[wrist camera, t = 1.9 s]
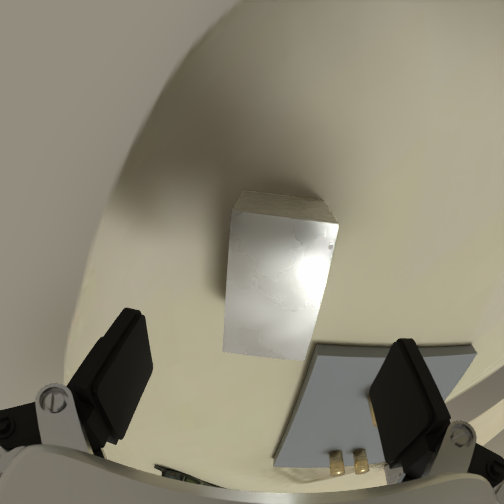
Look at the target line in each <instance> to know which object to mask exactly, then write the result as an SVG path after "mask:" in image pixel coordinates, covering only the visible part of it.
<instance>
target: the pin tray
mask: <svg viewBox="0 0 504 504" xmlns="http://www.w3.org/2000/svg"><path fill="white" fill-rule="evenodd" d="M418 349H419V351H420V353H421V355H422V357H423V358H424V360H425V362H426V364H427V366H428V368H429V370H430V372H431V375H432V377H433V379H434V381H435V383H436V385H437V387H438V389H439V391H440V394H441V396H442V398H443V400H444V401H445V399H446V398H447V397H448V395H449V394H450V393H451V391H452V390H453V389H454V387H455V386H456V385H457V383H458V382H459V380H460V379H461V378H462V376H463V375H464V373H465V372H466V370H467V369H468V367H469V366H470V364H471V363H472V361H473V359H474V358H475V356H476V355H477V352H476V351H475V349H474V348H473V346H472V345H469V346H452V347H419V348H418ZM389 350H390V348H388V347H353V346H334V345H319V344H316V347H315V350H314V353H313V356H312V359H311V362H310V365H309V368H308V371H307V374H306V377H305V380H304V383H303V386H302V389H301V391H300V394H299V397H298V400H297V402H296V405H295V408H294V410H293V413H292V416H291V418H290V421H289V423H288V426H287V428H286V431H285V433H284V436H283V438H282V441H281V443H280V445H279V448H278V450H277V453H276V455H275V457H274V464H273V467H296V468H318V467H330V476H341V475H343V474H344V473H345V470H344V466H354V467H355V474H364V473H367V472H368V471H369V466H368V464H374V463H382V462H386V461H385V459H384V454H383V449H382V445H381V440H380V436H379V432H378V428H377V423H376V419H375V415H374V411H373V407H372V404H371V400H370V396H369V390H370V387H371V385H372V383H373V381H374V379H375V378H376V376H377V374H378V372H379V370H380V368H381V366H382V364H383V362H384V360H385V359H386V357H387V355H388V353H389Z"/></svg>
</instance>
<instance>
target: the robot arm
mask: <svg viewBox="0 0 504 504" xmlns="http://www.w3.org/2000/svg"><path fill="white" fill-rule="evenodd" d="M152 370H153V362H152V357H151V351H150V346H149V339H148V333H147V326H146V319H145V316H144V315H141V312H140V311H139V310H135V309H130V308H124V309H123V310H122V312H121V313H120V315H119V316H118V317H117V319H116V320H115V321H114V323H113V324H112V325H111V327H110V328H109V330H108V331H107V332H106V334H105V335H104V337H101V338H100V339H99V340H98V341H97V342H96V344H95V345H94V347H93V348H92V350H91V351H90V352H89V354H88V355H87V357H86V358H85V360H84V361H83V362H82V364H81V365H80V367H79V368H78V370H77V371H76V373H75V374H74V376H73V377H72V379H71V380H70V382H69V383H68V385H67V386H64V385H62V384H58V383H54V384H49V385H46V386H44V387H43V388H41V389H40V391H39V392H38V393H37V396H36V399H35V402H33V403H29V404H25V405H21V406H17V407H13V408H9V409H4V410H0V504H504V459H503V458H502V457H501V456H499V455H498V454H496V453H494V452H492V451H490V450H488V449H486V448H484V447H483V446H481V445H479V444H477V443H476V432H475V431H474V429H473V427H472V426H471V425H470V424H468V423H467V422H465V421H462V420H460V421H458V420H457V421H454V422H452V423H450V419H451V417H450V414H449V412H448V410H447V407H446V405H445V403H444V400H443V398H442V396H441V394H440V391H439V389H438V387H437V385H436V383H435V381H434V379H433V377H432V375H431V372H430V370H429V368H428V366H427V364H426V362H425V360H424V358H423V357H422V355H421V353H420V351H419V349H418V347H417V345H416V343H415V341H414V340H413V339H406V338H400V339H398V340H397V341H396V342H394V343H393V344H392V346H391V348H390V350H389V353H388V355H387V357H386V359H385V360H384V362H383V364H382V366H381V368H380V370H379V372H378V374H377V376H376V378H375V379H374V381H373V383H372V385H371V387H370V390H369V396H370V400H371V404H372V407H373V411H374V415H375V419H376V423H377V428H378V432H379V436H380V440H381V445H382V449H383V454H384V459H385V461H386V463H389V468H390V469H394V468H399V467H402V469H403V473H402V475H401V476H400V478H399V480H398V482H397V483H396V484H390V485H385V486H379V487H373V488H366V489H358V490H349V491H339V492H324V493H266V492H252V491H241V490H232V489H224V488H217V487H211V486H205V485H199V484H194V483H189V482H184V481H179V480H175V479H171V478H167V477H163V476H159V475H155V474H151V473H148V472H144V471H141V470H137V469H134V468H131V467H128V466H125V465H122V464H119V463H116V462H113V461H110V460H107V457H106V455H105V452H104V450H103V447H104V446H105V444H106V441H107V442H109V443H112V444H115V445H116V444H117V442H118V440H119V439H120V440H122V439H123V438H124V436H125V433H126V431H127V429H128V426H129V424H130V422H131V419H132V417H133V414H134V412H135V410H136V408H137V405H138V403H139V401H140V398H141V396H142V394H143V392H144V389H145V387H146V385H147V383H148V380H149V378H150V376H151V374H152Z"/></svg>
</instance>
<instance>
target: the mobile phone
mask: <svg viewBox="0 0 504 504" xmlns="http://www.w3.org/2000/svg"><path fill="white" fill-rule="evenodd" d="M154 468H156V469H158V470H160V471H161V472H162V476H163V477H167V478H171V479H175V480H179V481H184V482H189V483H194V484H199V485H205V486H211V487H217V488H222V487H219V486H216V485H213V484H210V483H207V482H205V481H202V480H200V479H197V478H195V477H193V476H190V475H187V474H184V473H180V472H175V471H170V470H167V469H164V468H162V467H160V466H157V465H155V466H154ZM224 489H226V488H224Z"/></svg>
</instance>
